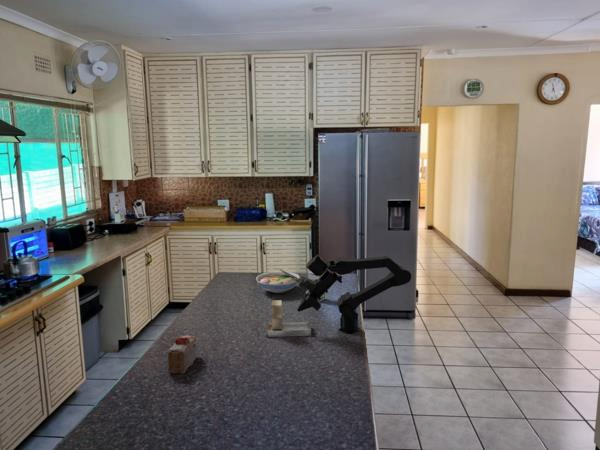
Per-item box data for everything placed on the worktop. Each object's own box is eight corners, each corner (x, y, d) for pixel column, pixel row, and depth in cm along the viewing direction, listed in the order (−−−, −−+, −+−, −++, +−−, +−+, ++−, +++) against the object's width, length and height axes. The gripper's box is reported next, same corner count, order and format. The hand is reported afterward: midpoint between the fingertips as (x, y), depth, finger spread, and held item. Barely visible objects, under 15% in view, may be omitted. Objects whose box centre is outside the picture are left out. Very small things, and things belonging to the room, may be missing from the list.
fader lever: (282, 326, 187) (281, 300, 185) (282, 331, 182) (281, 305, 180) (272, 326, 187) (271, 300, 185) (272, 332, 181) (271, 305, 179)
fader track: (309, 327, 189) (309, 321, 189) (311, 335, 181) (311, 329, 181) (266, 328, 188) (266, 323, 188) (266, 337, 180) (265, 331, 180)
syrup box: (318, 302, 218) (318, 273, 215) (308, 300, 222) (308, 271, 219) (325, 299, 223) (325, 270, 220) (315, 296, 226) (315, 268, 223)
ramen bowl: (249, 287, 242) (249, 272, 241) (288, 281, 252) (288, 267, 250) (266, 302, 220) (265, 285, 218) (308, 294, 229) (308, 279, 228)
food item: (179, 355, 167) (178, 329, 165) (201, 355, 166) (199, 330, 164) (166, 373, 153) (164, 346, 152) (189, 374, 153) (187, 347, 151)
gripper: (308, 264, 190) (283, 290, 191) (311, 277, 171) (283, 306, 173) (327, 281, 191) (302, 307, 193) (332, 296, 173) (304, 324, 175)
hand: (297, 310), depth 183 cm, fingers closed
